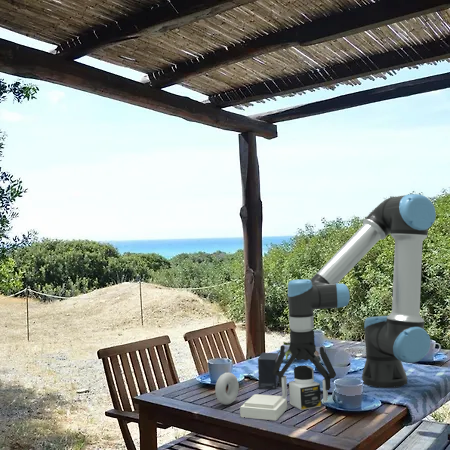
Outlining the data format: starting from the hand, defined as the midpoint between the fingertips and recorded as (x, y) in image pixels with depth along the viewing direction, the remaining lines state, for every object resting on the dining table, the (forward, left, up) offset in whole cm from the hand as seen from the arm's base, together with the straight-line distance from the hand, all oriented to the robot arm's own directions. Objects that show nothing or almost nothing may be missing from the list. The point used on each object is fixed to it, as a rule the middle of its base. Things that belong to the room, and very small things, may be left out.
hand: (305, 399), depth 169 cm
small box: (+18, -19, -2) cm, 26 cm away
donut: (+24, +5, -2) cm, 25 cm away
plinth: (+10, +10, -2) cm, 14 cm away
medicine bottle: (0, 0, -2) cm, 2 cm away
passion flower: (+19, -54, -2) cm, 57 cm away
